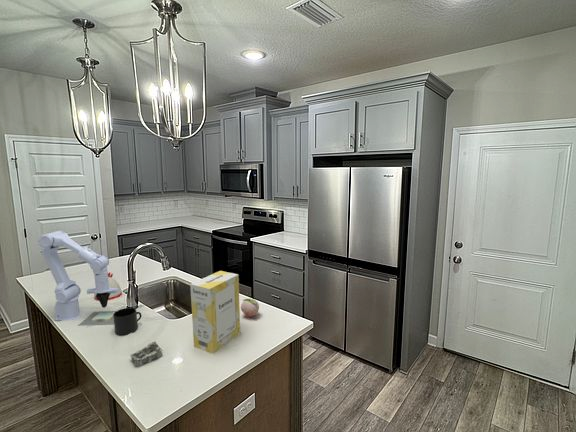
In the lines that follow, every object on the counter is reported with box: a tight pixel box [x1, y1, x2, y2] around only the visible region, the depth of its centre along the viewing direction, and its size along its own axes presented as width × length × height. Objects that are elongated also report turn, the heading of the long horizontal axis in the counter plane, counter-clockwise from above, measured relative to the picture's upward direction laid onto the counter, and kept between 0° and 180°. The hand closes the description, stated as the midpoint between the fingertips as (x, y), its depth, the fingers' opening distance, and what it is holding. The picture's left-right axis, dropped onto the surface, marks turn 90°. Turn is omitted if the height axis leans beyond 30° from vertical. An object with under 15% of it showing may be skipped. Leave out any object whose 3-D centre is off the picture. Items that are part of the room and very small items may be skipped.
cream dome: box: [93, 271, 123, 302], centre depth 178 cm, size 14×14×15 cm
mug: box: [113, 307, 142, 336], centre depth 143 cm, size 9×12×9 cm
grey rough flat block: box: [129, 341, 163, 367], centre depth 122 cm, size 11×8×4 cm
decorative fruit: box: [240, 298, 260, 318], centre depth 154 cm, size 9×8×10 cm
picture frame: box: [77, 310, 117, 327], centre depth 153 cm, size 18×14×1 cm
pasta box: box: [189, 270, 241, 355], centre depth 133 cm, size 18×10×28 cm, turn 151°
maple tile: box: [92, 312, 115, 322], centre depth 153 cm, size 8×1×7 cm
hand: (104, 306), depth 153 cm, fingers closed
